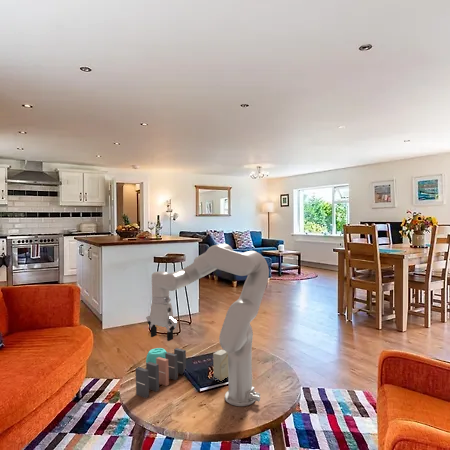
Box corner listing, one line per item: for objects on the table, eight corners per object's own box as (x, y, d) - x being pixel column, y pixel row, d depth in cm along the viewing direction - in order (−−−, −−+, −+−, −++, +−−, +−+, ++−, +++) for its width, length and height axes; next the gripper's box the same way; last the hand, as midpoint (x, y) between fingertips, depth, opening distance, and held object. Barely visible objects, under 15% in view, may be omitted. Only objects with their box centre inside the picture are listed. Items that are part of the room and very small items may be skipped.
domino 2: (149, 386, 150) (149, 361, 150) (159, 389, 147) (158, 364, 147) (146, 388, 148) (146, 363, 148) (156, 391, 145) (155, 366, 145)
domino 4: (168, 375, 160) (168, 352, 160) (177, 378, 157) (177, 354, 157) (165, 377, 158) (165, 353, 158) (175, 380, 155) (174, 356, 155)
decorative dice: (146, 369, 167) (145, 353, 167) (154, 362, 175) (153, 347, 174) (160, 371, 165) (160, 354, 164) (168, 364, 172) (168, 348, 172)
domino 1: (139, 392, 145) (138, 366, 145) (149, 396, 142) (148, 369, 142) (136, 394, 143) (135, 368, 143) (145, 398, 140) (145, 371, 140)
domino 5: (177, 370, 165) (176, 347, 165) (186, 373, 162) (185, 350, 162) (174, 372, 164) (174, 349, 163) (183, 374, 160) (183, 351, 160)
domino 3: (159, 380, 155) (159, 356, 155) (168, 384, 152) (168, 359, 152) (156, 382, 153) (156, 358, 153) (166, 385, 150) (165, 361, 150)
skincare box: (220, 382, 152) (220, 355, 152) (213, 380, 155) (212, 353, 155) (229, 377, 157) (228, 351, 157) (221, 374, 160) (221, 348, 160)
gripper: (181, 300, 150) (182, 338, 151) (152, 296, 160) (153, 332, 160) (169, 304, 144) (171, 344, 144) (140, 299, 153) (141, 337, 154)
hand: (161, 338), depth 152 cm, fingers open, 9 cm apart
